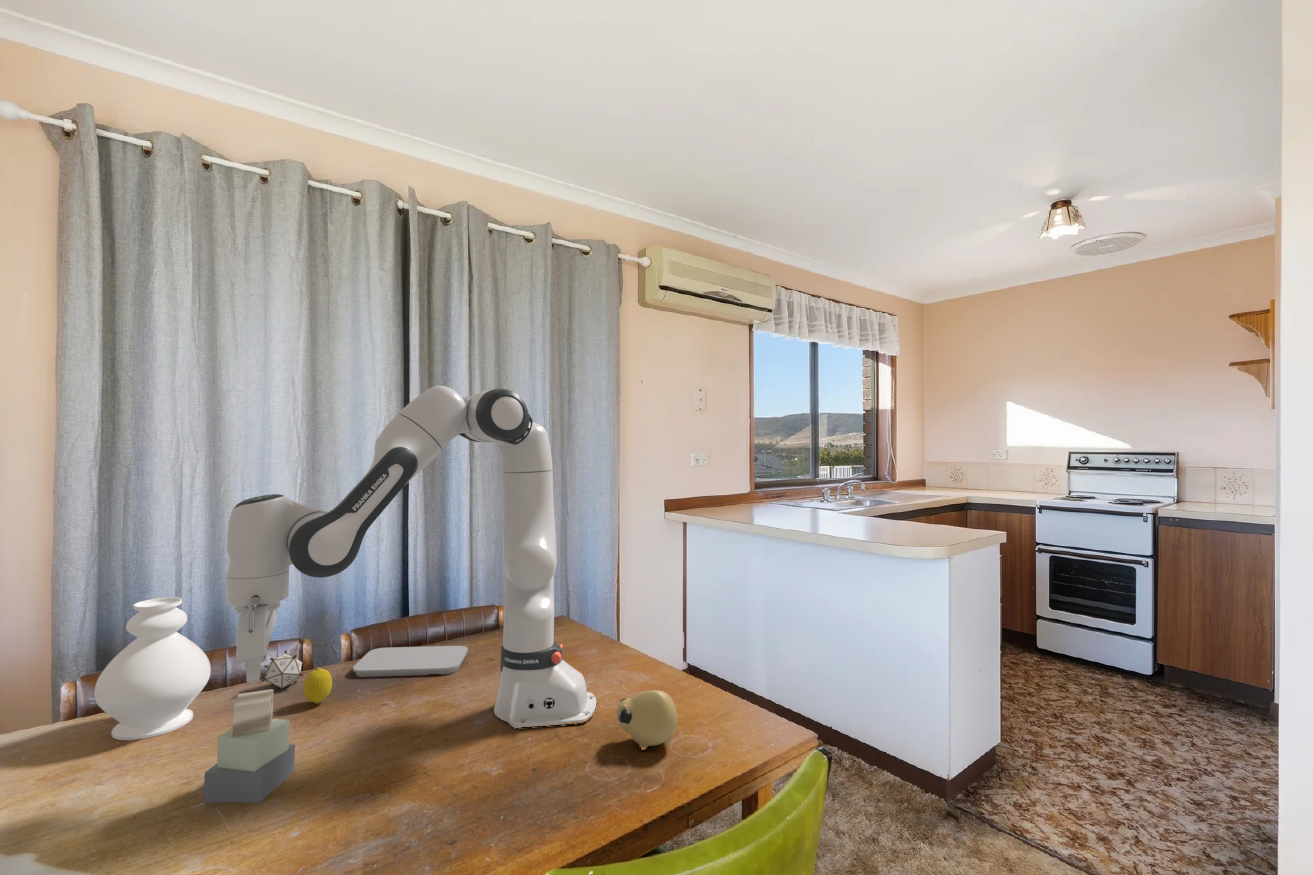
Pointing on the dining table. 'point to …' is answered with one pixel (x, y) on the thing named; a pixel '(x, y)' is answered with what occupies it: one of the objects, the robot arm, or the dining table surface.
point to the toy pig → (648, 717)
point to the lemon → (317, 685)
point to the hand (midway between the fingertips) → (256, 670)
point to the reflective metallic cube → (252, 712)
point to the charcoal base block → (248, 780)
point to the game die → (283, 670)
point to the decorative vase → (153, 674)
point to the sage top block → (253, 747)
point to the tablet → (410, 661)
